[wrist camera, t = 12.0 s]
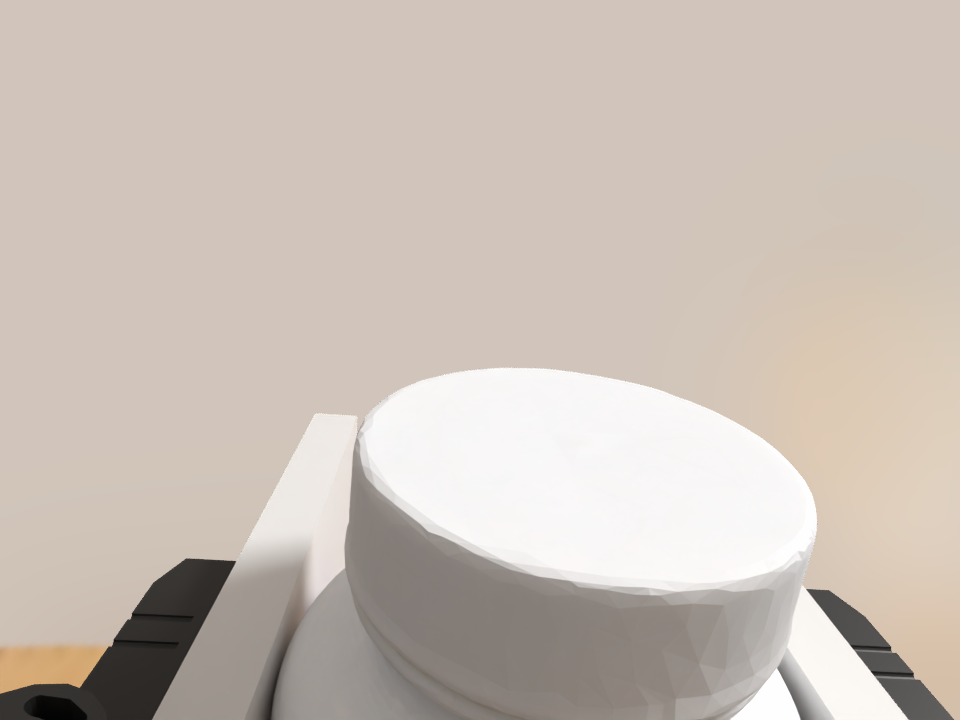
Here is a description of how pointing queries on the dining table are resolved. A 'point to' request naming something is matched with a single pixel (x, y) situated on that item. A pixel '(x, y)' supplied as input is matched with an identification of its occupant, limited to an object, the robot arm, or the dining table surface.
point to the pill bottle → (555, 560)
